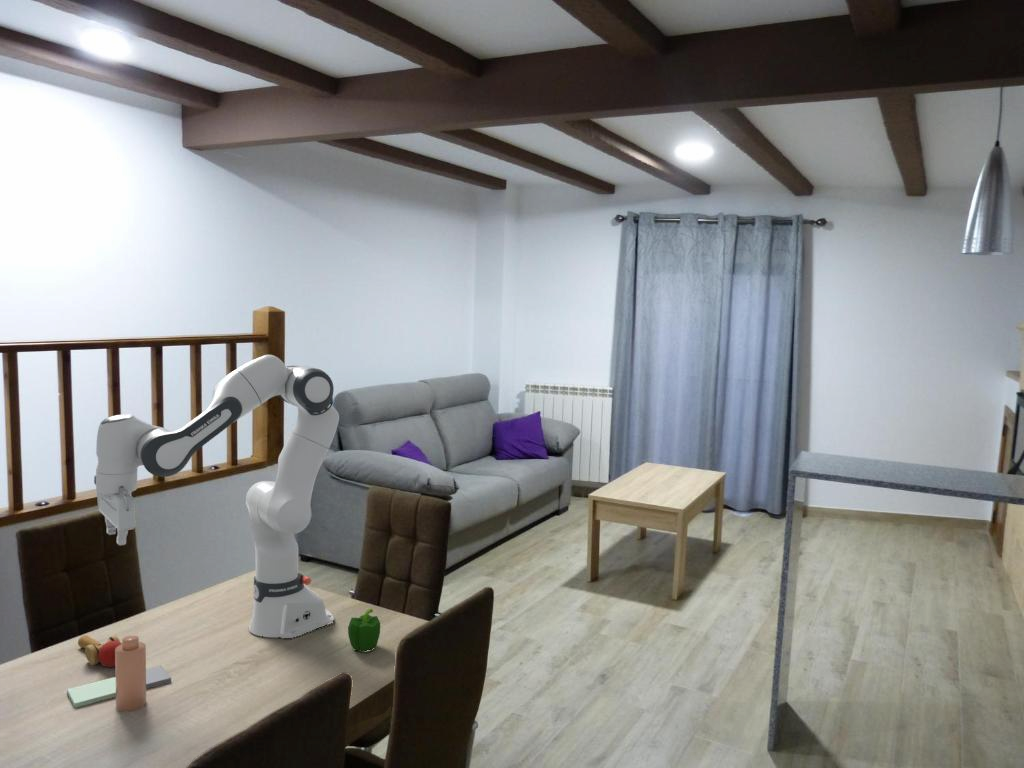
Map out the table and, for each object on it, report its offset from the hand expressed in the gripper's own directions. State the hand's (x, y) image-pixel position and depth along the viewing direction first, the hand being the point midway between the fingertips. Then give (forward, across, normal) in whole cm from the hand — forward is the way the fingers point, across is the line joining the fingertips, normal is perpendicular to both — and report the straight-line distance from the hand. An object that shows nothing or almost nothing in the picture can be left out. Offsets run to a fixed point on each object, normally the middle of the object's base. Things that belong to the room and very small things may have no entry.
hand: (116, 539), depth 192 cm
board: (+30, -16, +2) cm, 34 cm away
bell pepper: (+29, -29, -53) cm, 67 cm away
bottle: (+30, -24, +2) cm, 39 cm away
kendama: (+30, +3, +3) cm, 31 cm away
